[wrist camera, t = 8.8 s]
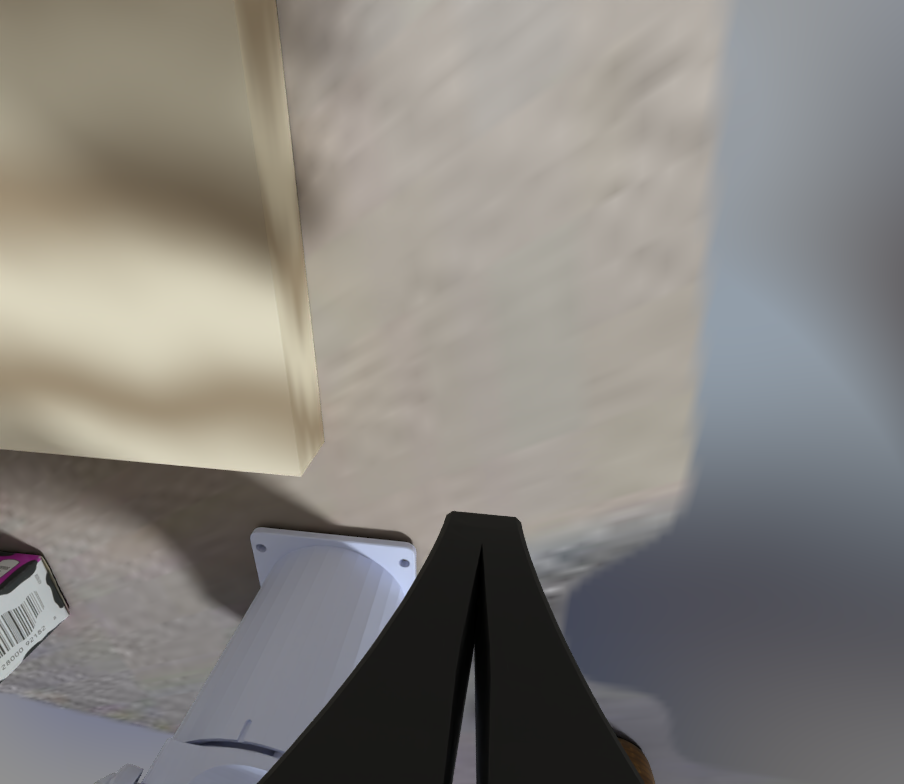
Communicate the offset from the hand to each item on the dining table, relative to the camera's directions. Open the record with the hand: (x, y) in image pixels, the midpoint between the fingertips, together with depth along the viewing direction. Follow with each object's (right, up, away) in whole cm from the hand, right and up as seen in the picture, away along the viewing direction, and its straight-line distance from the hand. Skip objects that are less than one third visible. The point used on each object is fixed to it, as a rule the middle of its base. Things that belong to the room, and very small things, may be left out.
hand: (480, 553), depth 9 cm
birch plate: (-12, +10, +7) cm, 17 cm away
